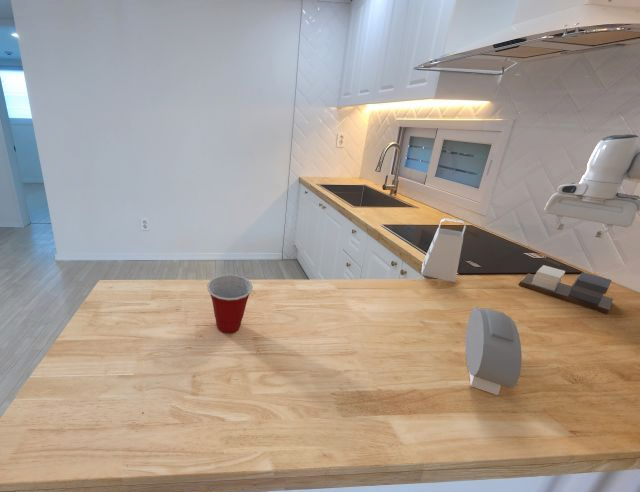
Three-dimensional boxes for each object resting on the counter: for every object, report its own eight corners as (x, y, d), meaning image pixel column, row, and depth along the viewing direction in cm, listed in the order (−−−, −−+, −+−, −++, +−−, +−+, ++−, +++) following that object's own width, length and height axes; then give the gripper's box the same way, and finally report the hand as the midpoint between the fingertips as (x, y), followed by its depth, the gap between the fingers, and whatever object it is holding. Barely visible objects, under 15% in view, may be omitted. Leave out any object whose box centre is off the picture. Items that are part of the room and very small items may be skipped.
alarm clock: (505, 408, 64) (531, 354, 59) (468, 395, 67) (489, 342, 62) (490, 344, 83) (509, 299, 78) (461, 336, 86) (478, 292, 81)
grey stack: (602, 296, 109) (611, 279, 107) (599, 305, 103) (608, 288, 100) (572, 287, 114) (580, 271, 112) (567, 295, 108) (575, 278, 106)
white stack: (559, 283, 116) (563, 275, 115) (554, 291, 110) (558, 282, 109) (537, 276, 120) (540, 268, 119) (530, 283, 115) (534, 275, 113)
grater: (421, 264, 129) (436, 214, 121) (453, 271, 124) (470, 219, 117) (421, 274, 120) (436, 221, 112) (455, 282, 116) (473, 227, 108)
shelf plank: (610, 302, 108) (613, 298, 108) (607, 314, 101) (609, 309, 100) (526, 276, 124) (528, 273, 123) (518, 285, 116) (519, 281, 116)
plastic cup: (197, 332, 81) (198, 288, 76) (218, 311, 90) (220, 270, 86) (238, 346, 77) (241, 300, 72) (256, 322, 86) (259, 281, 82)
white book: (563, 275, 115) (565, 271, 114) (558, 282, 109) (560, 278, 109) (541, 269, 119) (543, 265, 118) (535, 275, 113) (537, 271, 113)
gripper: (648, 195, 97) (625, 240, 102) (556, 184, 112) (540, 223, 117) (647, 198, 94) (624, 244, 99) (552, 185, 108) (536, 226, 113)
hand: (578, 233), depth 108 cm, fingers open, 8 cm apart
